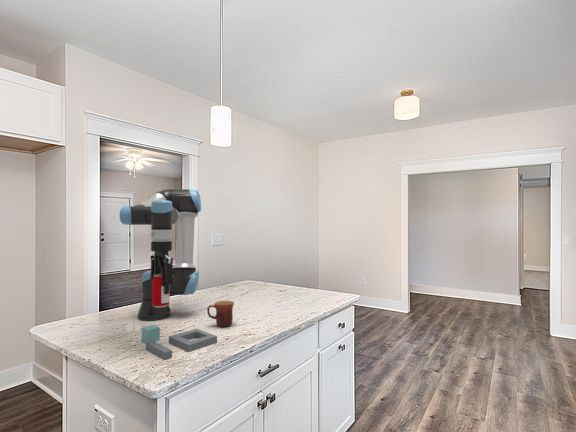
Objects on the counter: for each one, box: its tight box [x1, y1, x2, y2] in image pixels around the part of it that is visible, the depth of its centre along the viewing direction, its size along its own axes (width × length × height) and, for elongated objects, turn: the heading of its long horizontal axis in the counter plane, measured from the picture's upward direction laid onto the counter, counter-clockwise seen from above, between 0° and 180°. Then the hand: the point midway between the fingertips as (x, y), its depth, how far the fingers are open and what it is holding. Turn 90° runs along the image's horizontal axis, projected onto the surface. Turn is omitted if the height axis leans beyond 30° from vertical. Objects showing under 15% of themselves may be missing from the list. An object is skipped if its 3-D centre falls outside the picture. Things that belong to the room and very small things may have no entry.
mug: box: [206, 300, 235, 328], centre depth 154 cm, size 12×9×10 cm
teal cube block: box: [141, 324, 161, 343], centre depth 135 cm, size 5×5×5 cm
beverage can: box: [152, 274, 170, 308], centre depth 129 cm, size 6×6×12 cm
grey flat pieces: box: [145, 328, 218, 360], centre depth 129 cm, size 14×22×2 cm, turn 139°
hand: (161, 301), depth 129 cm, fingers closed on beverage can, 6 cm apart
